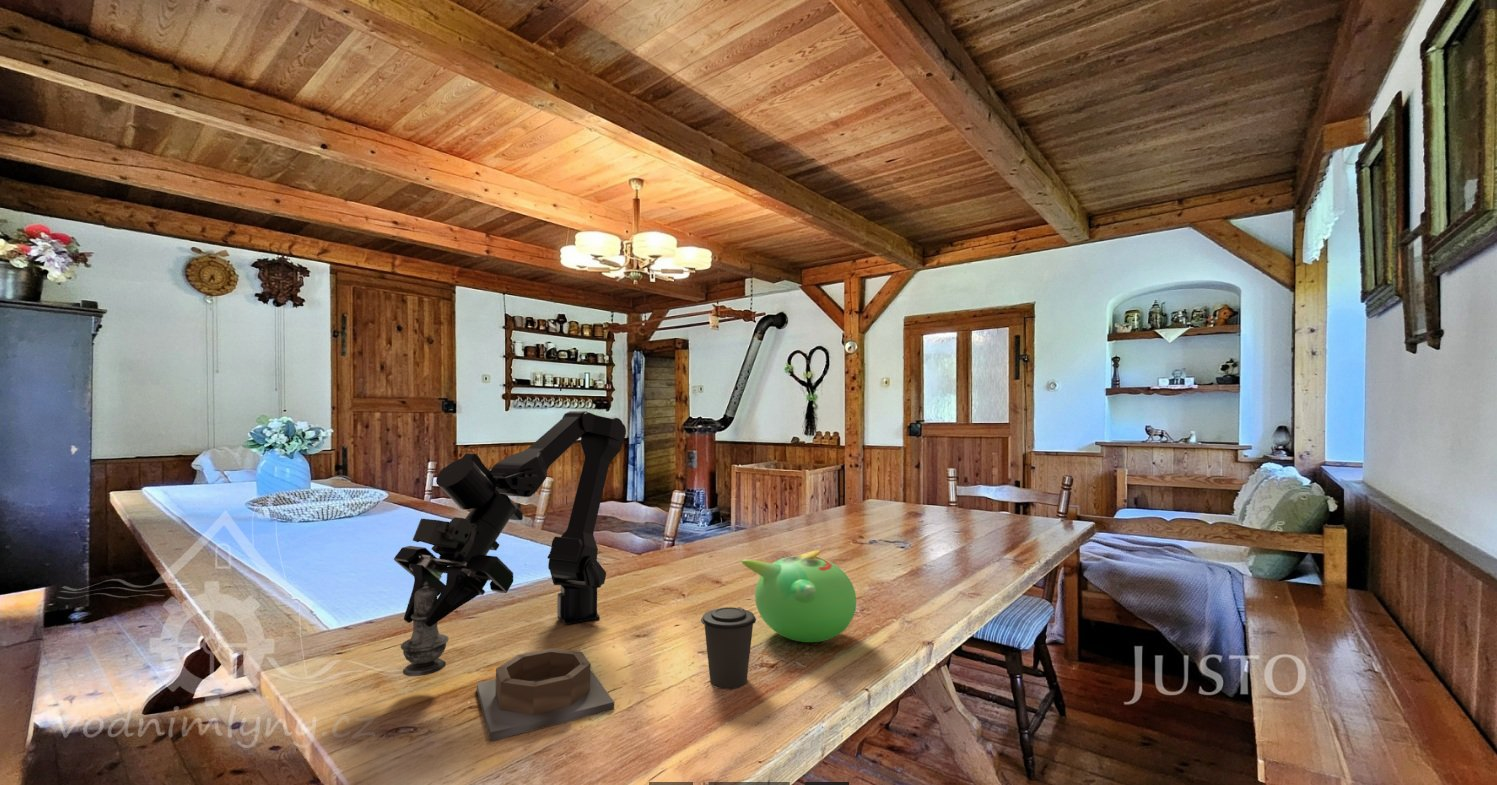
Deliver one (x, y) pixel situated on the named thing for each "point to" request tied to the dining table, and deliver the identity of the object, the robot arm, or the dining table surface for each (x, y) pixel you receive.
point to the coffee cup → (728, 645)
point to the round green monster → (804, 597)
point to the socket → (541, 692)
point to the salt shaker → (424, 637)
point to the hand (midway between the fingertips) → (416, 623)
